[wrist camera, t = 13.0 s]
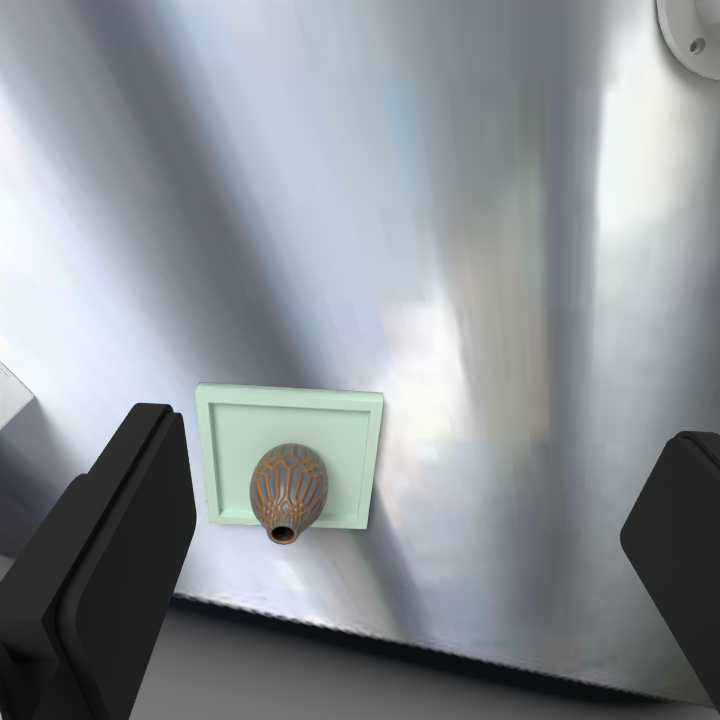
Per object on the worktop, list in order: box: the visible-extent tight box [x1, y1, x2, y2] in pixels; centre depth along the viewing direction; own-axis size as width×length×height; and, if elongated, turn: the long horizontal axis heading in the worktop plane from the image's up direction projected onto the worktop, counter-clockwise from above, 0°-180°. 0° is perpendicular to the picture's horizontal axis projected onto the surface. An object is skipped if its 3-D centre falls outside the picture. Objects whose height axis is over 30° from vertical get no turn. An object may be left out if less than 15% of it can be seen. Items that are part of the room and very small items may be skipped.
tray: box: [195, 383, 383, 529], centre depth 45 cm, size 16×16×2 cm
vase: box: [249, 443, 328, 545], centre depth 41 cm, size 7×7×9 cm
